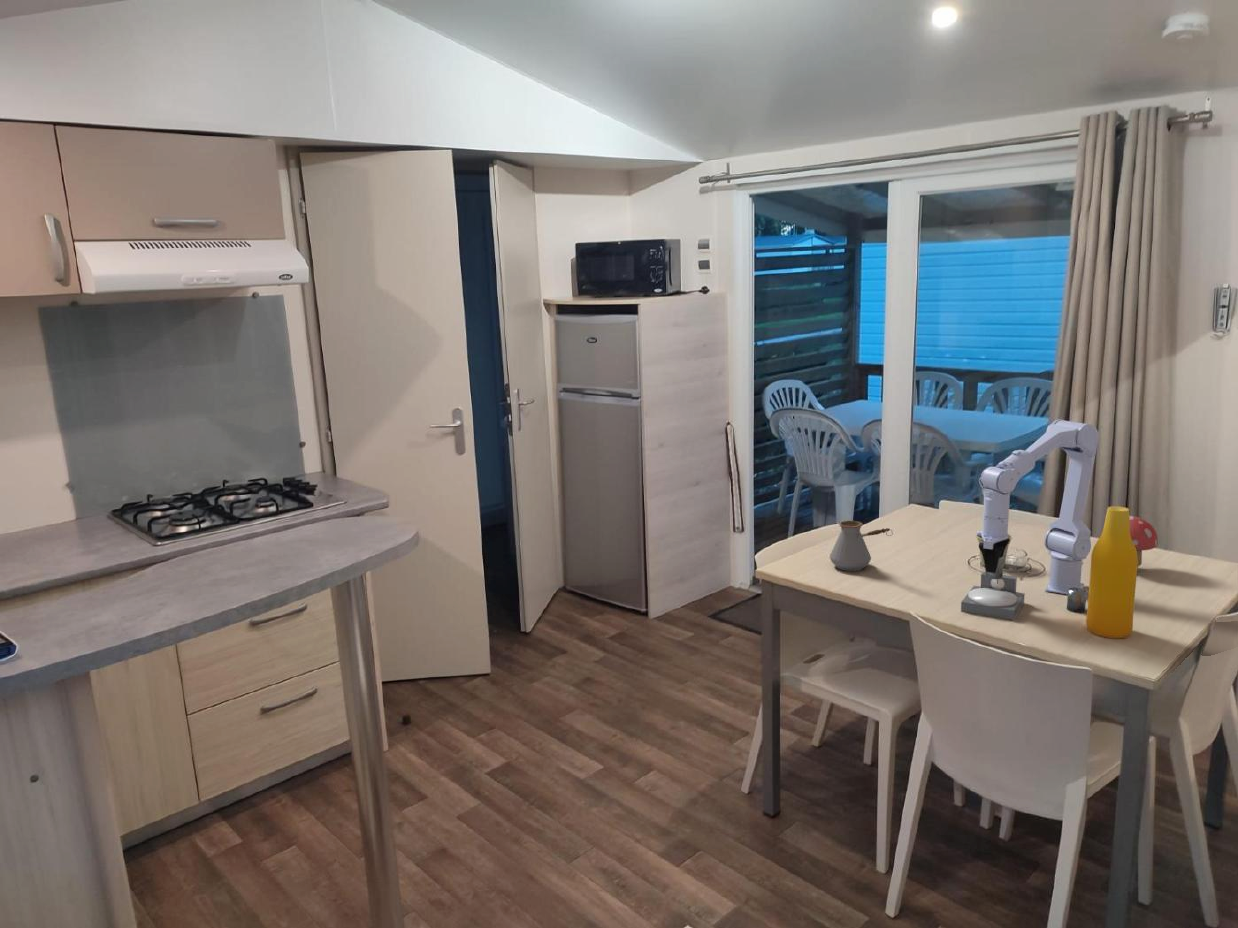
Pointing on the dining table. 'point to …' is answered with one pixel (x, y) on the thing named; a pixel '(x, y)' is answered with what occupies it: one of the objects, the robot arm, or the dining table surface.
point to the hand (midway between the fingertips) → (992, 569)
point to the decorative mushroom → (1142, 536)
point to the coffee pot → (852, 547)
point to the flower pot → (1003, 553)
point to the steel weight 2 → (1076, 600)
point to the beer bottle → (1113, 578)
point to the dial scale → (994, 598)
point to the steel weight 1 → (999, 571)
